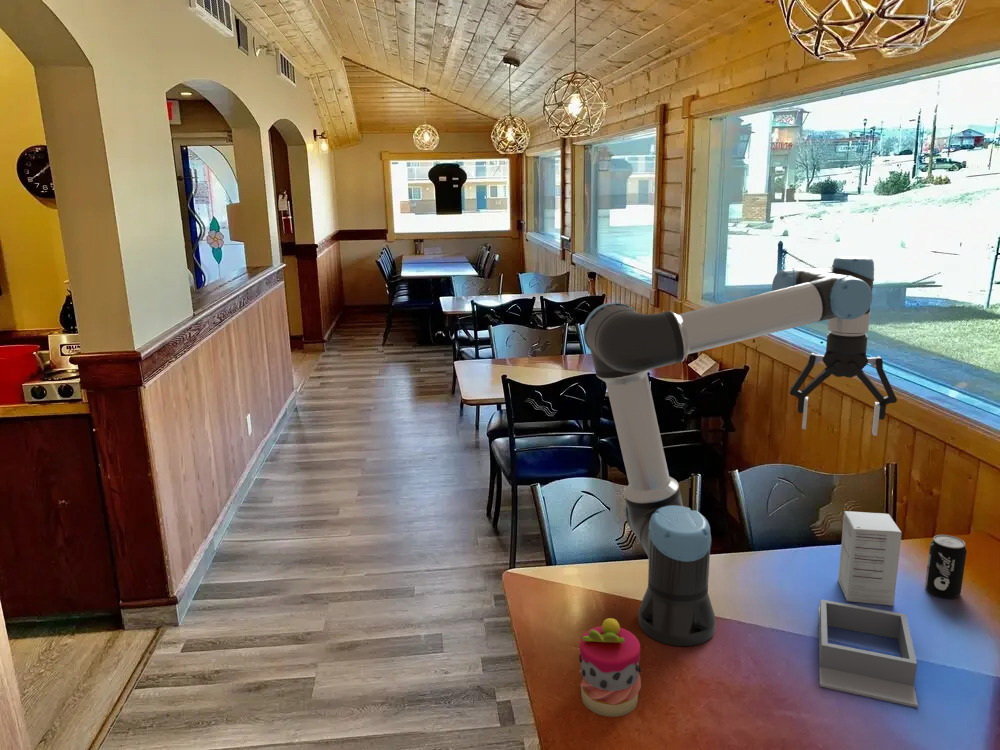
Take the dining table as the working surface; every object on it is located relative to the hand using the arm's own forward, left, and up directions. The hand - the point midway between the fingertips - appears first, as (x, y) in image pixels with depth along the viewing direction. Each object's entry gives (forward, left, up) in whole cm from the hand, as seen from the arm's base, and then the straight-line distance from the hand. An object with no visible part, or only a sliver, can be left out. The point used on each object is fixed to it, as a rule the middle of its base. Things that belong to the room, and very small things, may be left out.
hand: (838, 430), depth 151 cm
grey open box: (+6, -27, -35) cm, 44 cm away
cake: (-35, -56, -35) cm, 75 cm away
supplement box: (+8, -4, -35) cm, 36 cm away
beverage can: (+23, +2, -35) cm, 42 cm away
